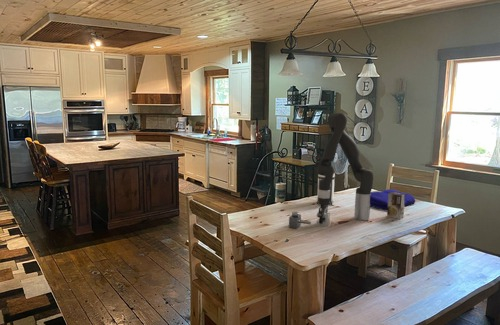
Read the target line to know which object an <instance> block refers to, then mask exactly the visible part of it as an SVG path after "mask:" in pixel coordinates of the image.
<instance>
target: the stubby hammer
mask: <svg viewBox="0 0 500 325" xmlns="http://www.w3.org/2000/svg"><path fill="white" fill-rule="evenodd" d="M311 223H312V222H311V221H309V220H304V219H303V220H302V214H300V213H299V212H298V211H292V212H291V214H290V215H289V217H288V228H289V229H292V230H293V229H294V230H298V229H299V228H300V227H301V226H302V224H304V225H305V224H306V225H311Z"/></svg>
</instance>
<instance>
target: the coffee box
mask: <svg viewBox="0 0 500 325" xmlns="http://www.w3.org/2000/svg"><path fill="white" fill-rule="evenodd" d="M402 193H403V192H402ZM402 193H396V192H391V193H389V194H388V210H386V212H387V214H386V216H387V217H389V218H393V219H398V220H401V219H403V218H404V213H405V206H404V203H405V194H402Z"/></svg>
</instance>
